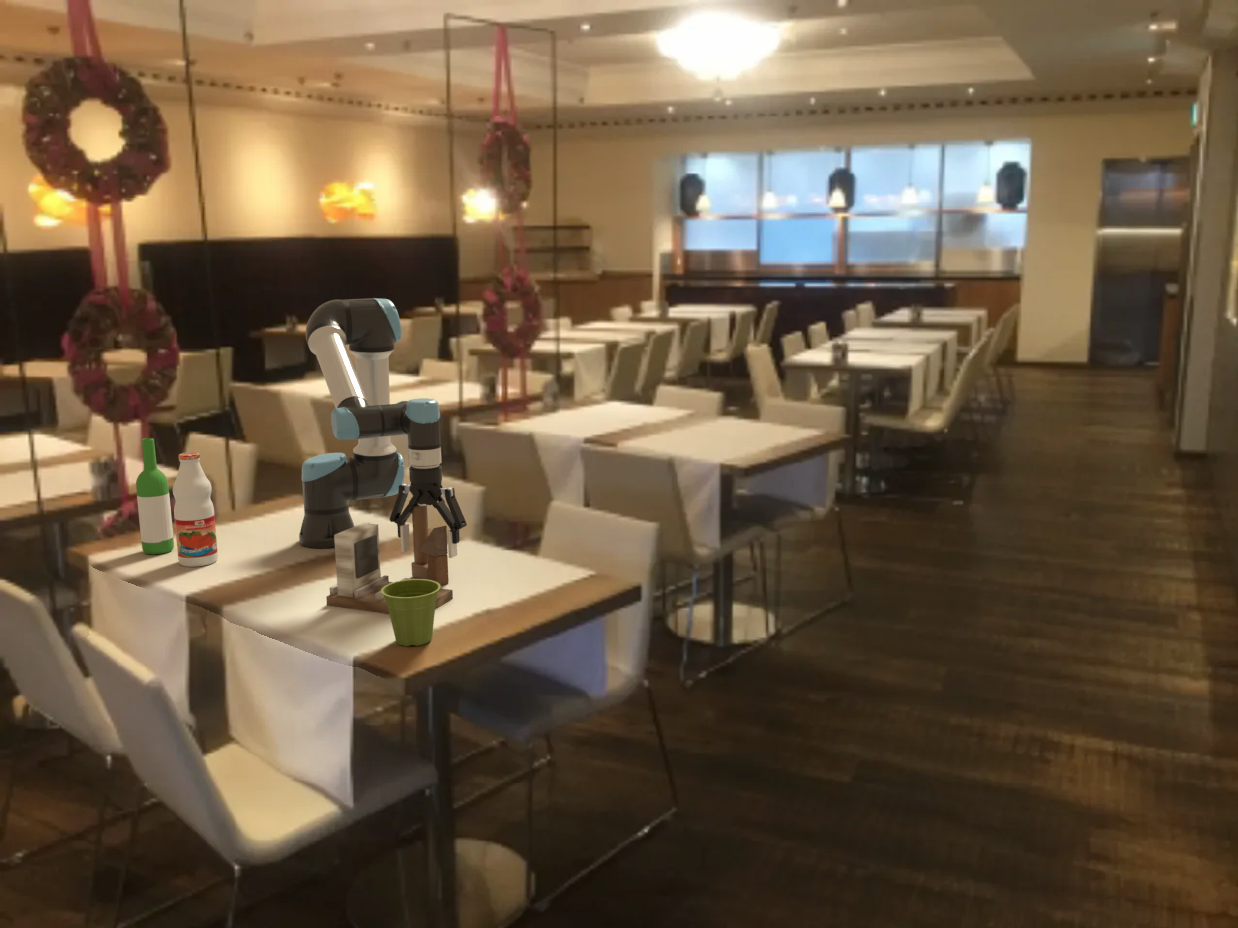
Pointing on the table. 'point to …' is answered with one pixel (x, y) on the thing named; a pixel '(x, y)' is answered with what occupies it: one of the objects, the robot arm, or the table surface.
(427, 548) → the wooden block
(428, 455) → the robot arm
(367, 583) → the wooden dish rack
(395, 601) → the plant pot
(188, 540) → the fruit juice
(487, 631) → the table surface
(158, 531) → the wine bottle
